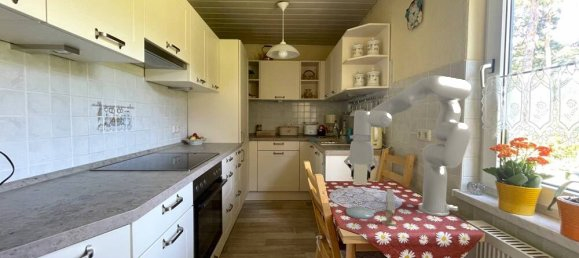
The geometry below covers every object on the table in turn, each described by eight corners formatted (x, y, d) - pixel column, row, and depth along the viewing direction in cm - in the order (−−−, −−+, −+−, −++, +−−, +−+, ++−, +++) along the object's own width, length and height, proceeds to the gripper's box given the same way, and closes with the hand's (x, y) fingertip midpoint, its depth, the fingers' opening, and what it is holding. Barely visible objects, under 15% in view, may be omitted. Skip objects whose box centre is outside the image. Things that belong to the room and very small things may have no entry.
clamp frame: (393, 211, 121) (394, 189, 120) (395, 226, 105) (396, 200, 104) (382, 210, 123) (383, 188, 122) (382, 224, 107) (383, 198, 106)
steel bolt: (393, 197, 106) (393, 190, 106) (394, 210, 91) (395, 202, 91) (386, 196, 107) (387, 189, 107) (387, 210, 92) (387, 201, 92)
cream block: (367, 182, 119) (367, 162, 118) (366, 185, 113) (367, 164, 113) (354, 180, 120) (355, 161, 120) (353, 183, 115) (354, 163, 115)
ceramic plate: (374, 211, 121) (374, 208, 121) (373, 220, 110) (373, 218, 110) (347, 207, 125) (347, 205, 125) (344, 216, 114) (344, 214, 114)
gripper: (341, 138, 115) (339, 179, 116) (382, 140, 110) (380, 183, 111) (343, 137, 122) (342, 175, 123) (382, 139, 117) (381, 179, 118)
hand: (360, 179), depth 117 cm, fingers closed on cream block, 5 cm apart
